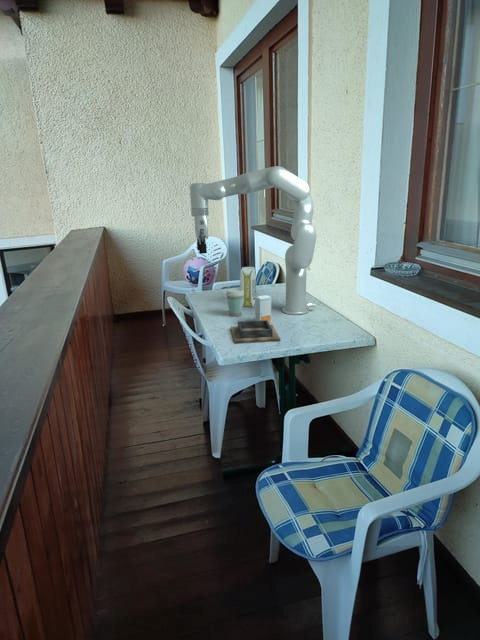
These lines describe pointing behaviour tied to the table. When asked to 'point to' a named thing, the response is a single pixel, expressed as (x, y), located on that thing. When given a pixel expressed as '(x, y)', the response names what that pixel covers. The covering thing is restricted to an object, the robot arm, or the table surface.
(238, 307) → the coffee cup
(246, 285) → the juice carton
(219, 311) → the table surface
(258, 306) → the skincare box
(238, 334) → the wooden framed tray
